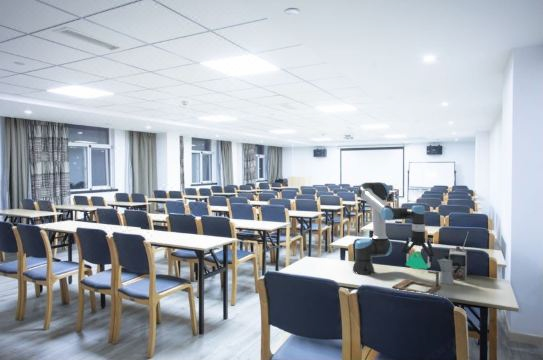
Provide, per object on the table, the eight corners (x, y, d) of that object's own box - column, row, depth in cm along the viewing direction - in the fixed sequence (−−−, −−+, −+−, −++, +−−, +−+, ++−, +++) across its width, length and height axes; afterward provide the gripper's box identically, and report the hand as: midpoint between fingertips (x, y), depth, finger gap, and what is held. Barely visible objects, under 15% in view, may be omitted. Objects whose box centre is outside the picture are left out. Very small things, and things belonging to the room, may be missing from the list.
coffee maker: (433, 282, 239) (433, 254, 238) (439, 279, 245) (439, 252, 244) (458, 287, 228) (458, 258, 228) (462, 284, 234) (463, 256, 234)
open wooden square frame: (392, 288, 226) (392, 272, 226) (405, 280, 242) (405, 265, 241) (428, 296, 211) (428, 279, 211) (440, 287, 227) (440, 271, 227)
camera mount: (430, 268, 224) (430, 251, 224) (426, 270, 218) (426, 253, 218) (410, 264, 232) (410, 248, 231) (406, 267, 226) (406, 250, 225)
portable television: (448, 280, 243) (448, 235, 242) (449, 271, 264) (449, 230, 263) (468, 282, 237) (469, 236, 237) (468, 273, 258) (468, 231, 258)
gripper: (396, 229, 230) (396, 263, 231) (436, 233, 214) (436, 269, 214) (401, 228, 236) (401, 261, 236) (441, 231, 220) (441, 267, 220)
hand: (418, 265), depth 225 cm, fingers closed on camera mount, 12 cm apart
